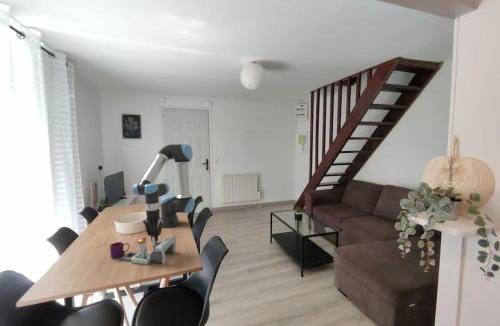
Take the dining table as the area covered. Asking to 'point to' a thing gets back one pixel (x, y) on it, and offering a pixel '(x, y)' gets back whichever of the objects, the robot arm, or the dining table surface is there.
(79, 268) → the dining table surface
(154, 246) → the chock
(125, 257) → the pin socket
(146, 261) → the tray
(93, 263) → the dining table surface
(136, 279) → the dining table surface
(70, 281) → the dining table surface
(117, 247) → the mug
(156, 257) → the grey angle bracket
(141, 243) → the stop pin
